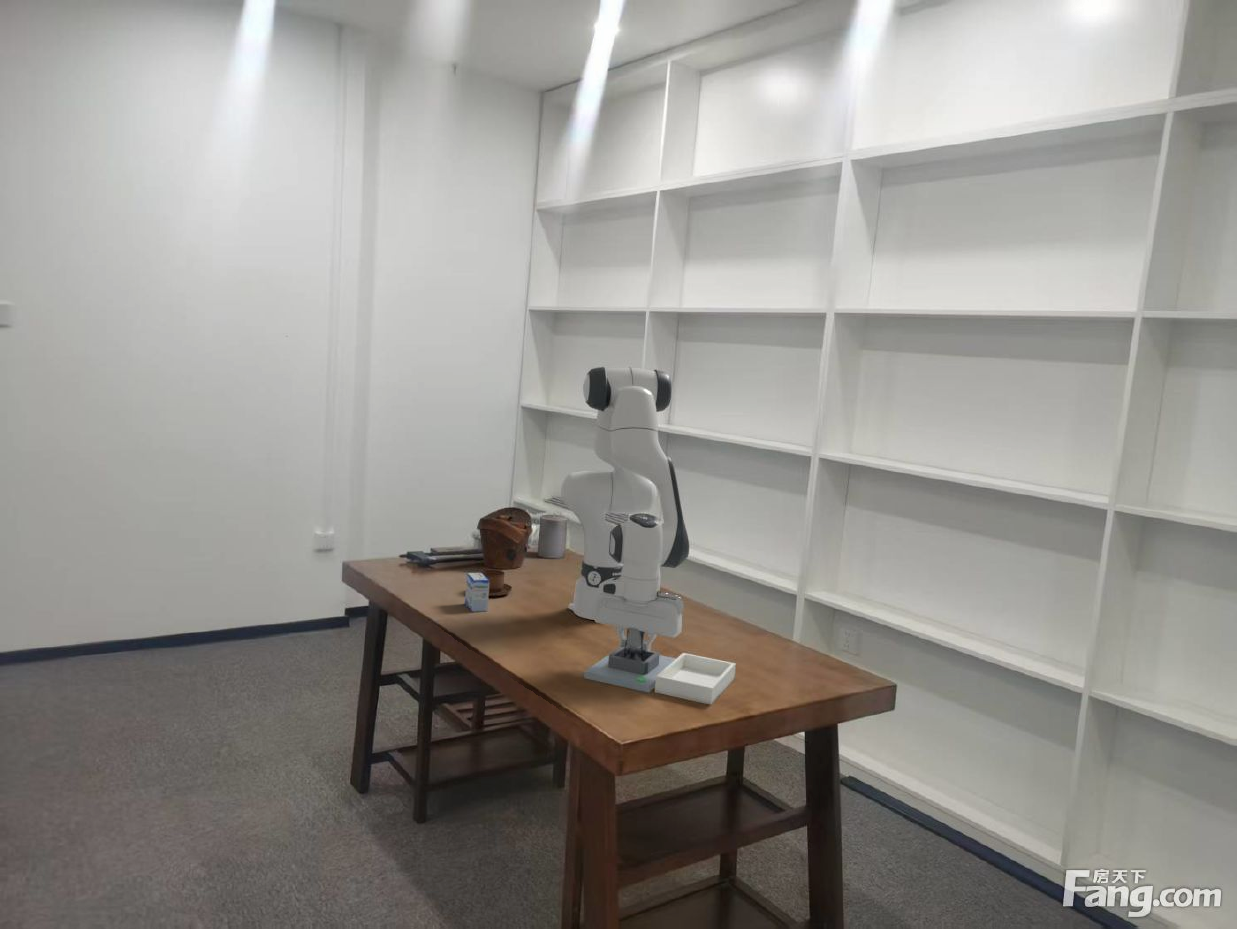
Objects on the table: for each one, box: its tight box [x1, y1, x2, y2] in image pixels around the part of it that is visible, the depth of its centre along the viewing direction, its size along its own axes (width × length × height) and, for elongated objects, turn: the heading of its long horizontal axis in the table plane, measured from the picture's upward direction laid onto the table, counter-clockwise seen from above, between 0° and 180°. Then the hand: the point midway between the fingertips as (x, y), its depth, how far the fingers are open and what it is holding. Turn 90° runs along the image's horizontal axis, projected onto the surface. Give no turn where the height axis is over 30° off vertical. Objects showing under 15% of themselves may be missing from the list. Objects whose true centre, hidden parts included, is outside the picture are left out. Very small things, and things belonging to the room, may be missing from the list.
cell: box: [625, 628, 646, 662], centre depth 197 cm, size 4×4×9 cm
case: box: [476, 506, 533, 570], centre depth 288 cm, size 18×20×18 cm
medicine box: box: [464, 572, 489, 613], centre depth 238 cm, size 8×4×9 cm, turn 23°
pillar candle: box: [537, 513, 569, 560], centre depth 307 cm, size 10×10×15 cm
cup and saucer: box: [478, 569, 513, 597], centre depth 253 cm, size 12×12×6 cm
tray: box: [654, 652, 737, 706], centre depth 192 cm, size 18×12×4 cm
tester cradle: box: [583, 646, 677, 693], centre depth 197 cm, size 20×15×4 cm
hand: (634, 648), depth 197 cm, fingers closed on cell, 4 cm apart
